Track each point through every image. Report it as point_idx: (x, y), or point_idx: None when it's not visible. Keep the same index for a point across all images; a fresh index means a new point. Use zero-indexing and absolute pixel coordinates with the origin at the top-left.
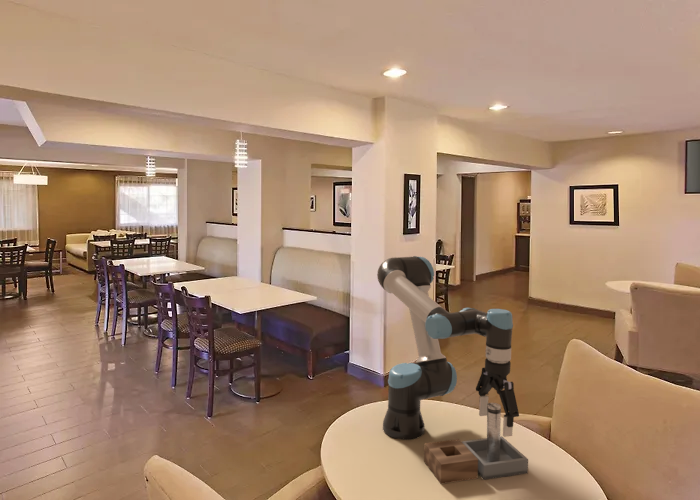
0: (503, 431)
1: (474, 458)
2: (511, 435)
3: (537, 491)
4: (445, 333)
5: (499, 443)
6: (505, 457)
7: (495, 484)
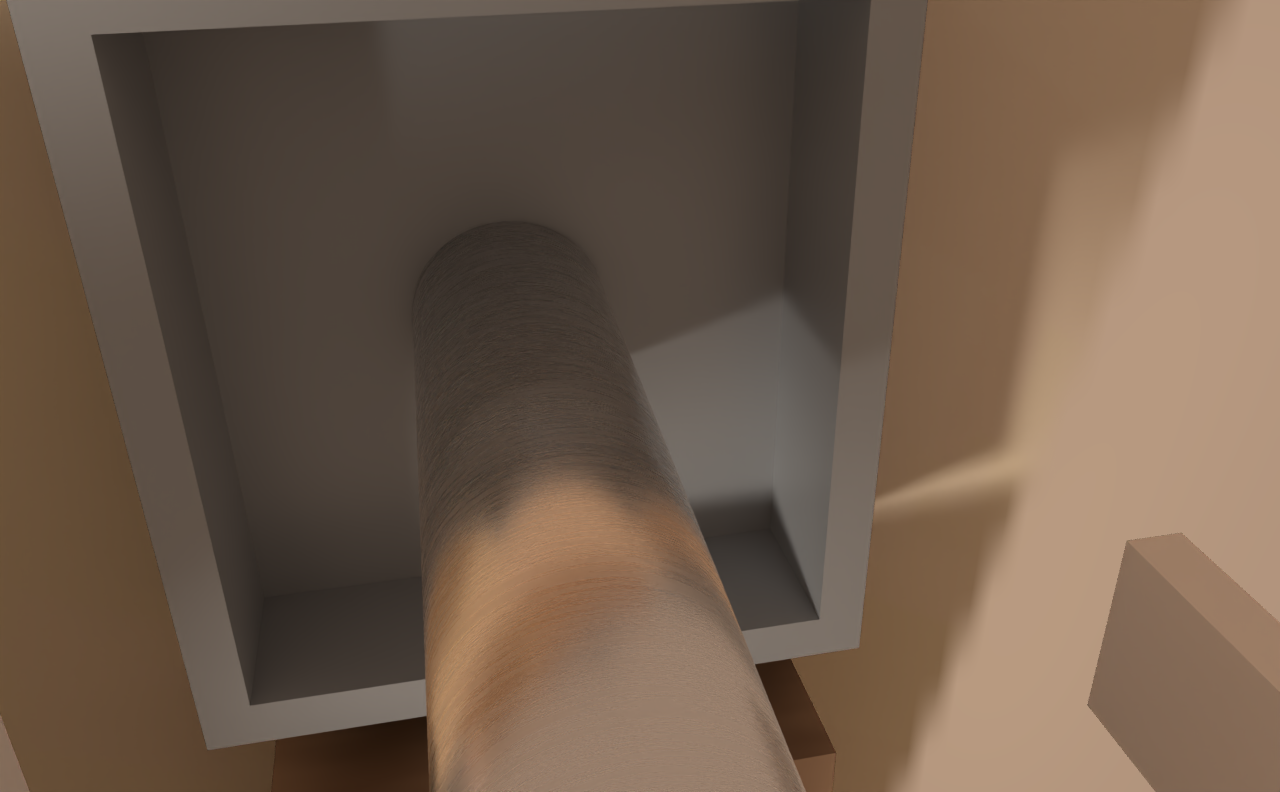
0: (1170, 782)
1: (805, 786)
2: (1187, 557)
3: (1168, 15)
4: None
5: (648, 409)
6: (456, 77)
7: (888, 436)
